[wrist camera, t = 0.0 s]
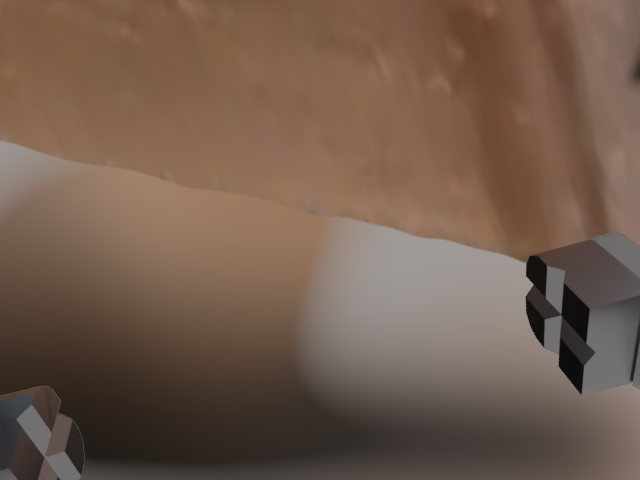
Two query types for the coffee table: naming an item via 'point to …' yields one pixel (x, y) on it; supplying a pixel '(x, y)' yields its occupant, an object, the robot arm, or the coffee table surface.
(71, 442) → the robot arm
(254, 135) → the coffee table surface
